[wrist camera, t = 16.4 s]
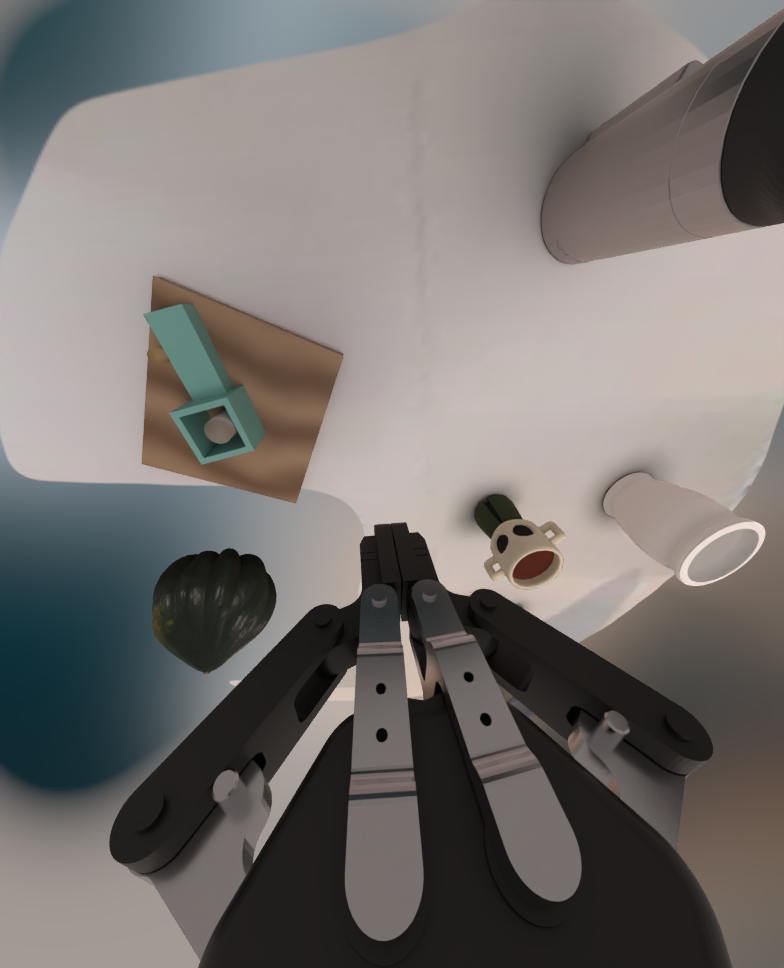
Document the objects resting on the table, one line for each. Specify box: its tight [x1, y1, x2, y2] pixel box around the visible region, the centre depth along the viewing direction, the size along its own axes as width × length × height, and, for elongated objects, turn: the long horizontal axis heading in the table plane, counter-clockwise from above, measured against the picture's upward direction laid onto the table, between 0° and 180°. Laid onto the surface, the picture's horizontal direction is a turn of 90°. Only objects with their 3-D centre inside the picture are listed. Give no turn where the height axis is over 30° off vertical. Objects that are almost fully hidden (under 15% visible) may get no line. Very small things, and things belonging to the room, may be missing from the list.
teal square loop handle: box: [143, 304, 266, 465], centre depth 30 cm, size 14×6×6 cm, turn 13°
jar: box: [603, 472, 765, 586], centre depth 44 cm, size 11×10×15 cm
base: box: [142, 276, 343, 503], centre depth 32 cm, size 20×18×8 cm
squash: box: [152, 548, 276, 674], centre depth 42 cm, size 14×15×15 cm
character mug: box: [475, 495, 566, 590], centre depth 43 cm, size 11×7×13 cm, turn 128°
